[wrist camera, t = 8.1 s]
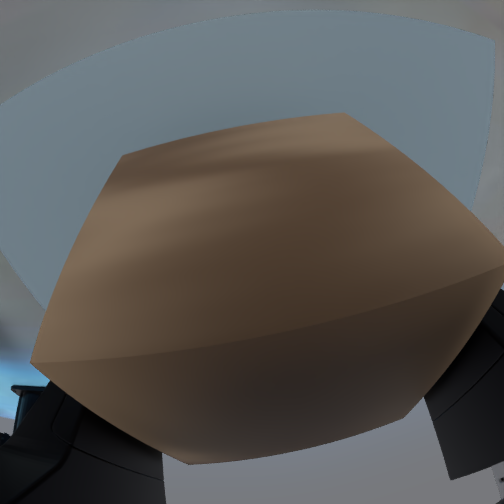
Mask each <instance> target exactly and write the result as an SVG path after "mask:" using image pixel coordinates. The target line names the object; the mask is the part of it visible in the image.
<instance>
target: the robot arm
mask: <svg viewBox="0 0 504 504" xmlns="http://www.w3.org/2000/svg"><path fill="white" fill-rule="evenodd" d="M11 390H12V391H13V392H14V393H16V394H17V395H18V396H20V397H19V402H18V407H17V412H16V417H15V423H14V430H13V434H12V436H9V434H7V433H4V434H3V433H0V504H166V498H165V487H164V481H163V480H164V476H163V462H162V452H160V451H158V450H157V449H155V448H153V447H151V446H149V445H147V444H145V443H143V442H141V441H140V440H138V439H136V438H134V437H133V436H131V435H129V434H127V433H126V432H124V431H122V430H121V429H119V428H117V427H116V426H114V425H112V424H111V423H109V422H108V421H106V420H105V419H103V418H101V417H100V416H98V415H97V414H95V413H94V412H92V411H91V410H89V409H88V408H87V407H85V406H84V405H82V404H81V403H80V402H78V401H77V400H75V399H74V398H73V397H71V396H70V395H69V394H67V393H66V392H65V391H63V390H62V389H61V388H59V387H58V386H57V385H56V384H54V383H53V382H52V381H51V380H50V381H49V383H48V384H47V386H46V387H45V388H43V387H23V386H11ZM424 399H425V402H426V404H427V407H428V410H429V413H430V416H431V419H432V421H433V425H434V428H435V431H436V434H437V437H438V440H439V444H440V447H441V450H442V453H443V456H444V460H445V463H446V467H447V471H448V474H449V478H450V480H454V479H457V478H460V477H463V476H466V475H469V474H472V473H475V472H478V471H481V470H483V469H486V468H488V467H492V471H493V474H494V477H495V481H496V484H497V486H498V489H499V492H500V496H501V500H500V501H499V502H498V503H496V504H504V290H502V289H500V290H499V292H498V294H497V295H496V297H495V299H494V301H493V302H492V304H491V306H490V307H489V309H488V311H487V312H486V314H485V315H484V317H483V319H482V320H481V322H480V323H479V325H478V326H477V328H476V329H475V331H474V332H473V334H472V335H471V337H470V338H469V340H468V341H467V343H466V344H465V345H464V347H463V348H462V349H461V351H460V352H459V354H458V355H457V356H456V358H455V359H454V360H453V362H452V363H451V364H450V365H449V367H448V368H447V369H446V371H445V372H444V373H443V374H442V375H441V377H440V378H439V379H438V380H437V382H436V383H435V384H434V385H433V386H432V387H431V389H430V390H429V391H428V392H427V393H426V394H425V395H424Z"/></svg>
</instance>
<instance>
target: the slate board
mask: <svg viewBox="0 0 504 504" xmlns="http://www.w3.org/2000/svg"><path fill="white" fill-rule="evenodd" d="M494 73H495V40H492V39H489V38H486V37H483V36H480V35H477V34H474V33H471V32H468V31H464V30H461V29H457V28H453V27H450V26H446V25H442V24H437V23H433V22H428V21H424V20H419V19H413V18H407V17H401V16H395V15H387V14H379V13H370V12H358V11H342V10H291V11H274V12H262V13H252V14H244V15H236V16H230V17H223V18H217V19H212V20H206V21H201V22H197V23H192V24H187V25H183V26H179V27H175V28H171V29H167V30H164V31H160V32H156V33H153V34H150V35H146V36H143V37H140V38H137V39H134V40H131V41H128V42H125V43H122V44H119V45H117V46H114V47H111V48H109V49H106V50H103V51H101V52H98V53H96V54H94V55H91V56H89V57H87V58H84V59H82V60H80V61H78V62H75V63H73V64H71V65H69V66H67V67H65V68H63V69H61V70H59V71H57V72H55V73H53V74H51V75H49V76H47V77H45V78H43V79H42V80H40V81H38V82H36V83H34V84H33V85H31V86H29V87H27V88H26V89H24V90H22V91H21V92H19V93H18V94H16V95H14V96H13V97H11V98H10V99H8V100H7V101H5V102H3V103H2V104H0V250H1V252H2V253H3V255H4V256H5V258H6V259H7V261H8V262H9V263H10V265H11V266H12V268H13V269H14V271H15V272H16V273H17V275H18V276H19V278H20V279H21V280H22V282H23V283H24V284H25V286H26V287H27V288H28V290H29V291H30V292H31V294H32V295H33V296H34V297H35V299H36V300H37V301H38V302H39V304H40V305H41V306H42V307H43V309H44V310H45V311H46V310H47V307H48V304H49V302H50V299H51V296H52V294H53V291H54V289H55V286H56V283H57V281H58V279H59V276H60V274H61V271H62V269H63V267H64V264H65V262H66V260H67V258H68V255H69V253H70V251H71V249H72V247H73V244H74V242H75V240H76V238H77V236H78V234H79V232H80V230H81V228H82V226H83V224H84V222H85V220H86V218H87V216H88V214H89V212H90V210H91V208H92V206H93V205H94V203H95V201H96V199H97V197H98V195H99V194H100V192H101V190H102V188H103V187H104V185H105V183H106V181H107V180H108V178H109V176H110V175H111V173H112V171H113V170H114V168H115V166H116V165H117V163H118V161H119V160H120V158H121V157H122V155H125V154H128V153H131V152H135V151H138V150H142V149H145V148H148V147H152V146H156V145H159V144H163V143H167V142H171V141H175V140H178V139H182V138H187V137H191V136H195V135H199V134H204V133H208V132H213V131H218V130H223V129H228V128H233V127H238V126H243V125H249V124H255V123H261V122H267V121H274V120H280V119H287V118H295V117H303V116H312V115H321V114H332V113H344V112H345V113H346V114H348V115H349V116H351V117H353V118H354V119H356V120H357V121H359V122H360V123H362V124H363V125H365V126H366V127H368V128H369V129H371V130H372V131H373V132H375V133H376V134H378V135H379V136H381V137H382V138H383V139H385V140H386V141H388V142H389V143H390V144H392V145H393V146H394V147H396V148H397V149H398V150H400V151H401V152H402V153H404V154H405V155H406V156H408V157H409V158H410V159H411V160H413V161H414V162H415V163H416V164H418V165H419V166H420V167H421V168H423V169H424V170H425V171H426V172H427V173H429V174H430V175H431V176H432V177H433V178H434V179H436V180H437V181H438V182H439V183H440V184H441V185H443V186H444V187H445V188H446V189H447V190H448V191H449V192H450V193H451V194H453V195H454V196H455V197H456V198H457V199H458V200H459V201H460V202H461V203H462V204H463V205H464V206H465V207H466V208H467V209H468V210H470V211H471V210H472V206H473V203H474V199H475V195H476V191H477V187H478V183H479V179H480V175H481V170H482V166H483V161H484V156H485V151H486V145H487V139H488V133H489V126H490V119H491V111H492V101H493V90H494Z"/></svg>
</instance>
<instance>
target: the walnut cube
mask: <svg viewBox="0 0 504 504" xmlns="http://www.w3.org/2000/svg"><path fill="white" fill-rule="evenodd" d="M503 283H504V246H503V245H502V244H501V243H500V242H499V241H498V240H497V238H496V237H495V236H494V235H493V234H492V233H491V232H490V231H489V230H488V229H487V228H486V227H485V226H484V225H483V224H482V223H481V222H480V220H479V219H478V218H477V217H476V216H475V215H474V214H473V213H472V212H471V211H470V210H468V209H467V208H466V207H465V206H464V205H463V204H462V203H461V202H460V201H459V200H458V199H457V198H456V197H455V196H454V195H453V194H451V193H450V192H449V191H448V190H447V189H446V188H445V187H444V186H443V185H441V184H440V183H439V182H438V181H437V180H436V179H434V178H433V177H432V176H431V175H430V174H429V173H427V172H426V171H425V170H424V169H423V168H421V167H420V166H419V165H418V164H416V163H415V162H414V161H413V160H411V159H410V158H409V157H408V156H406V155H405V154H404V153H402V152H401V151H400V150H398V149H397V148H396V147H394V146H393V145H392V144H390V143H389V142H388V141H386V140H385V139H383V138H382V137H381V136H379V135H378V134H376V133H375V132H373V131H372V130H371V129H369V128H368V127H366V126H365V125H363V124H362V123H360V122H359V121H357V120H356V119H354V118H353V117H351V116H349V115H348V114H346V113H345V112H344V113H332V114H321V115H312V116H303V117H295V118H287V119H280V120H274V121H267V122H261V123H255V124H249V125H243V126H238V127H233V128H228V129H223V130H218V131H213V132H208V133H204V134H199V135H195V136H191V137H187V138H182V139H178V140H175V141H171V142H167V143H163V144H159V145H156V146H152V147H148V148H145V149H142V150H138V151H135V152H131V153H128V154H125V155H122V157H121V158H120V160H119V161H118V163H117V165H116V166H115V168H114V170H113V171H112V173H111V175H110V176H109V178H108V180H107V181H106V183H105V185H104V187H103V188H102V190H101V192H100V194H99V195H98V197H97V199H96V201H95V203H94V205H93V206H92V208H91V210H90V212H89V214H88V216H87V218H86V220H85V222H84V224H83V226H82V228H81V230H80V232H79V234H78V236H77V238H76V240H75V242H74V244H73V247H72V249H71V251H70V253H69V255H68V258H67V260H66V262H65V264H64V267H63V269H62V271H61V274H60V276H59V279H58V281H57V283H56V286H55V289H54V291H53V294H52V296H51V299H50V302H49V304H48V307H47V310H46V313H45V315H44V318H43V321H42V324H41V327H40V330H39V333H38V337H37V340H36V343H35V346H34V350H33V353H32V357H31V361H30V363H31V364H32V365H33V366H34V367H35V368H36V369H38V370H39V371H40V372H41V373H42V374H43V375H45V376H46V377H47V378H48V379H49V380H51V381H52V382H53V383H54V384H56V385H57V386H58V387H59V388H61V389H62V390H63V391H65V392H66V393H67V394H69V395H70V396H71V397H73V398H74V399H75V400H77V401H78V402H80V403H81V404H82V405H84V406H85V407H87V408H88V409H89V410H91V411H92V412H94V413H95V414H97V415H98V416H100V417H101V418H103V419H105V420H106V421H108V422H109V423H111V424H112V425H114V426H116V427H117V428H119V429H121V430H122V431H124V432H126V433H127V434H129V435H131V436H133V437H134V438H136V439H138V440H140V441H141V442H143V443H145V444H147V445H149V446H151V447H153V448H155V449H157V450H158V451H160V452H162V453H164V454H166V455H169V456H171V457H173V458H175V459H177V460H179V461H181V462H183V463H186V464H188V465H193V464H209V463H220V462H230V461H239V460H247V459H254V458H260V457H267V456H272V455H277V454H283V453H288V452H293V451H298V450H302V449H307V448H311V447H315V446H319V445H323V444H327V443H331V442H334V441H338V440H341V439H345V438H348V437H351V436H355V435H358V434H361V433H364V432H367V431H370V430H373V429H375V428H379V427H381V426H384V425H387V424H389V423H392V422H394V421H397V420H400V419H402V418H404V417H405V416H406V415H407V414H408V413H409V412H410V411H411V410H412V408H414V406H415V405H416V404H417V403H418V402H419V401H420V400H421V399H422V397H424V395H425V394H426V393H427V392H428V391H429V390H430V389H431V387H432V386H433V385H434V384H435V383H436V382H437V380H438V379H439V378H440V377H441V375H442V374H443V373H444V372H445V371H446V369H447V368H448V367H449V365H450V364H451V363H452V362H453V360H454V359H455V358H456V356H457V355H458V354H459V352H460V351H461V349H462V348H463V347H464V345H465V344H466V343H467V341H468V340H469V338H470V337H471V335H472V334H473V332H474V331H475V329H476V328H477V326H478V325H479V323H480V322H481V320H482V319H483V317H484V315H485V314H486V312H487V311H488V309H489V307H490V306H491V304H492V302H493V301H494V299H495V297H496V295H497V294H498V292H499V290H500V288H501V286H502V285H503Z"/></svg>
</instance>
